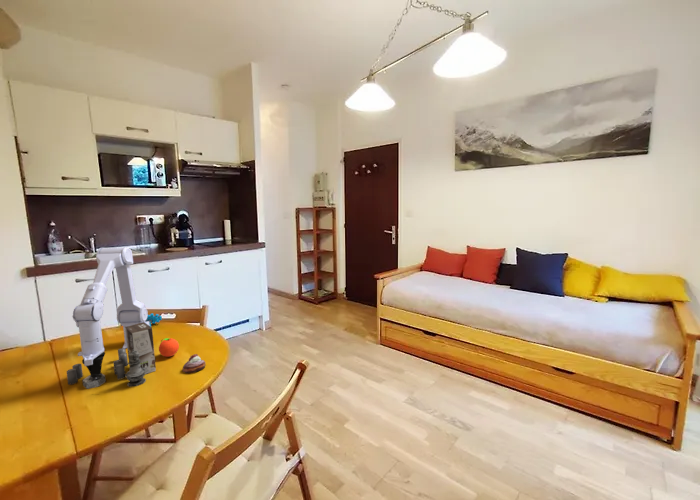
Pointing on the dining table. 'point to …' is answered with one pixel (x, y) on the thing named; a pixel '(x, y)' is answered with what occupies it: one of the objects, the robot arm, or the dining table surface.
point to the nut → (94, 380)
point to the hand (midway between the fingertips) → (96, 375)
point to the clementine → (168, 347)
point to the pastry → (194, 364)
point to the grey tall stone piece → (135, 370)
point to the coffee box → (142, 344)
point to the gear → (153, 318)
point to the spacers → (118, 368)
